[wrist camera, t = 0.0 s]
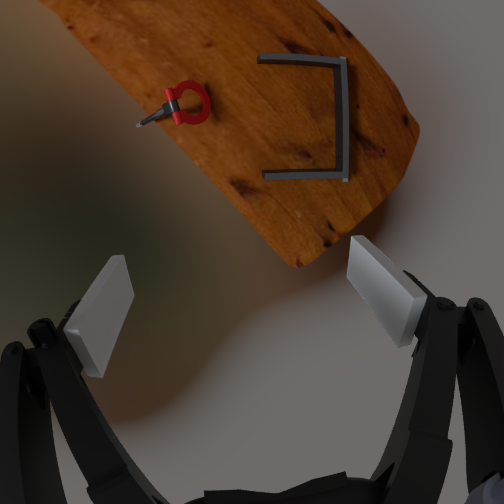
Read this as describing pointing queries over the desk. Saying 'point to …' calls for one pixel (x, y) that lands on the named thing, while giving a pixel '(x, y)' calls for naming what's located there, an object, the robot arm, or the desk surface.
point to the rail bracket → (340, 116)
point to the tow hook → (173, 106)
